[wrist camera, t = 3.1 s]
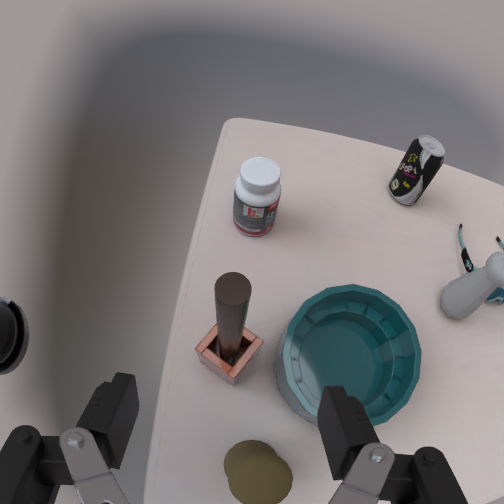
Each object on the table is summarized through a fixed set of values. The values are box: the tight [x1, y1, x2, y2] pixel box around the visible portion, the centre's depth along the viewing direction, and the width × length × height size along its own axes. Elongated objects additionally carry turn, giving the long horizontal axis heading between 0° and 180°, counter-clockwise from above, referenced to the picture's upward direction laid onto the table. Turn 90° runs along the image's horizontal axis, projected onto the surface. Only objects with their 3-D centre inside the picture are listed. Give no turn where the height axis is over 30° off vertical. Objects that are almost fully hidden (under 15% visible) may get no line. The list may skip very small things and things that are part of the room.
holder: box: [195, 323, 263, 386], centre depth 32 cm, size 5×5×7 cm
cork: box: [224, 440, 293, 504], centre depth 24 cm, size 6×6×11 cm
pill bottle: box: [233, 157, 281, 236], centre depth 40 cm, size 6×6×10 cm
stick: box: [214, 272, 251, 366], centre depth 26 cm, size 2×2×20 cm
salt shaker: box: [441, 252, 504, 319], centre depth 35 cm, size 6×6×13 cm
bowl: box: [274, 284, 421, 426], centre depth 33 cm, size 16×16×6 cm
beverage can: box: [389, 135, 445, 205], centre depth 45 cm, size 6×6×12 cm
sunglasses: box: [459, 224, 504, 304], centre depth 43 cm, size 14×15×5 cm
